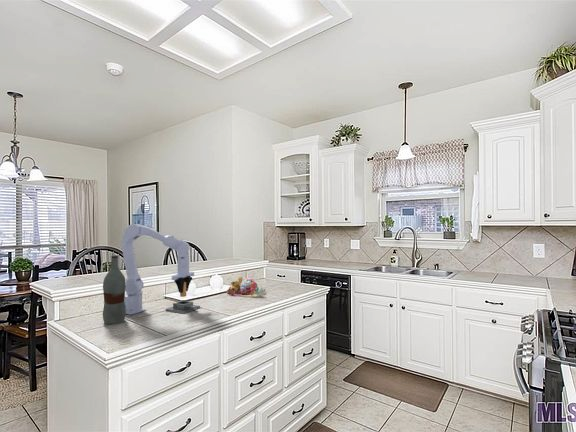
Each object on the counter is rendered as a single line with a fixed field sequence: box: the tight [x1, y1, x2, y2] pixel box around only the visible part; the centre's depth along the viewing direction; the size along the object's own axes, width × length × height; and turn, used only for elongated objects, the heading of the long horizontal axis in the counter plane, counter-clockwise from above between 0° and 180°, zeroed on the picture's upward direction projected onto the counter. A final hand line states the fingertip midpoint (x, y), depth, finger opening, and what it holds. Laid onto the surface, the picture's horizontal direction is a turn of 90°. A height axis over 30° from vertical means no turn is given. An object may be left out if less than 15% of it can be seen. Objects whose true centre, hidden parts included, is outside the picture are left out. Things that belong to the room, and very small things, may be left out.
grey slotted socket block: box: [165, 300, 201, 315], centre depth 170 cm, size 12×14×4 cm
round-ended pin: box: [179, 282, 187, 298], centre depth 170 cm, size 3×3×7 cm
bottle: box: [102, 255, 127, 326], centre depth 150 cm, size 9×9×30 cm
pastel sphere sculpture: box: [226, 276, 267, 298], centre depth 209 cm, size 25×24×9 cm
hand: (183, 291), depth 170 cm, fingers closed on round-ended pin, 3 cm apart
